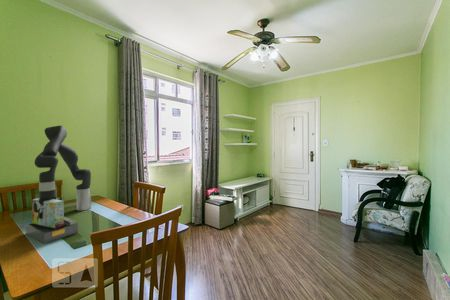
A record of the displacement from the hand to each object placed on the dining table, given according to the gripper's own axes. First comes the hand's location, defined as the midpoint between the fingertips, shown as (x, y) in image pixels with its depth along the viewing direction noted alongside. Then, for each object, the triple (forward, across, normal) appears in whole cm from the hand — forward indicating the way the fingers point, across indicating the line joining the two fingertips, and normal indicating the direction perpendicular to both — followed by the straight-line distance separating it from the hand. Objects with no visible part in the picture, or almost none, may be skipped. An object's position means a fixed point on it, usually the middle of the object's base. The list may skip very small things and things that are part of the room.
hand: (47, 216), depth 125 cm
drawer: (+11, -2, 0) cm, 11 cm away
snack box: (+5, 0, 0) cm, 5 cm away
